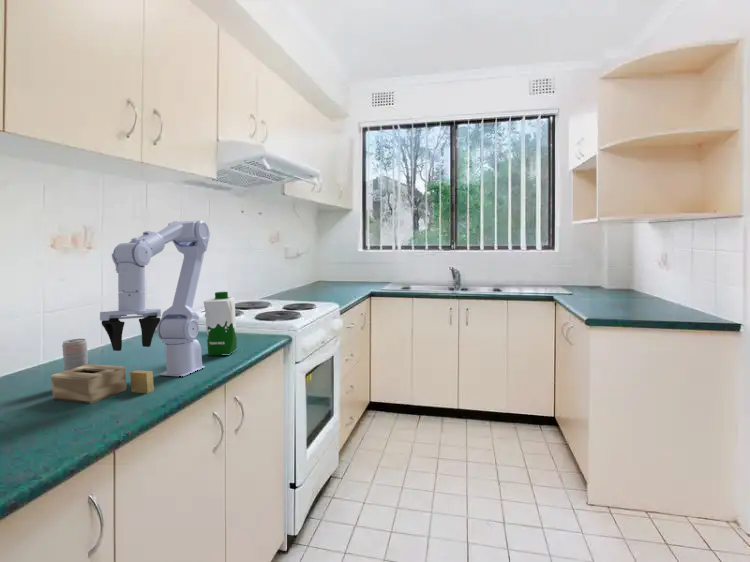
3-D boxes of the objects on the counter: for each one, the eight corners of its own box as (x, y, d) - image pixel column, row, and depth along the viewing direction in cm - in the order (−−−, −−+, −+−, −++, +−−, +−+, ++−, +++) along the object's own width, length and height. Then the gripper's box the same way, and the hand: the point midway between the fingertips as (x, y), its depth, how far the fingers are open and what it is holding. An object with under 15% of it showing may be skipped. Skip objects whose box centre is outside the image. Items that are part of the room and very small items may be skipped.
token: (137, 389, 117) (136, 370, 116) (154, 390, 115) (152, 371, 115) (131, 392, 115) (130, 372, 114) (147, 393, 113) (146, 373, 113)
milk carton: (240, 349, 157) (236, 291, 155) (231, 356, 148) (227, 294, 146) (214, 350, 157) (211, 291, 155) (203, 357, 148) (199, 295, 146)
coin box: (90, 386, 120) (88, 364, 119) (126, 389, 116) (124, 366, 116) (53, 399, 110) (50, 375, 110) (91, 403, 107) (89, 378, 106)
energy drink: (85, 381, 125) (82, 337, 124) (93, 384, 122) (89, 339, 121) (63, 386, 121) (58, 341, 120) (70, 390, 117) (66, 343, 116)
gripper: (113, 292, 104) (113, 353, 104) (168, 291, 117) (169, 345, 116) (94, 292, 107) (94, 351, 107) (150, 291, 120) (150, 344, 120)
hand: (132, 348), depth 112 cm, fingers open, 7 cm apart
